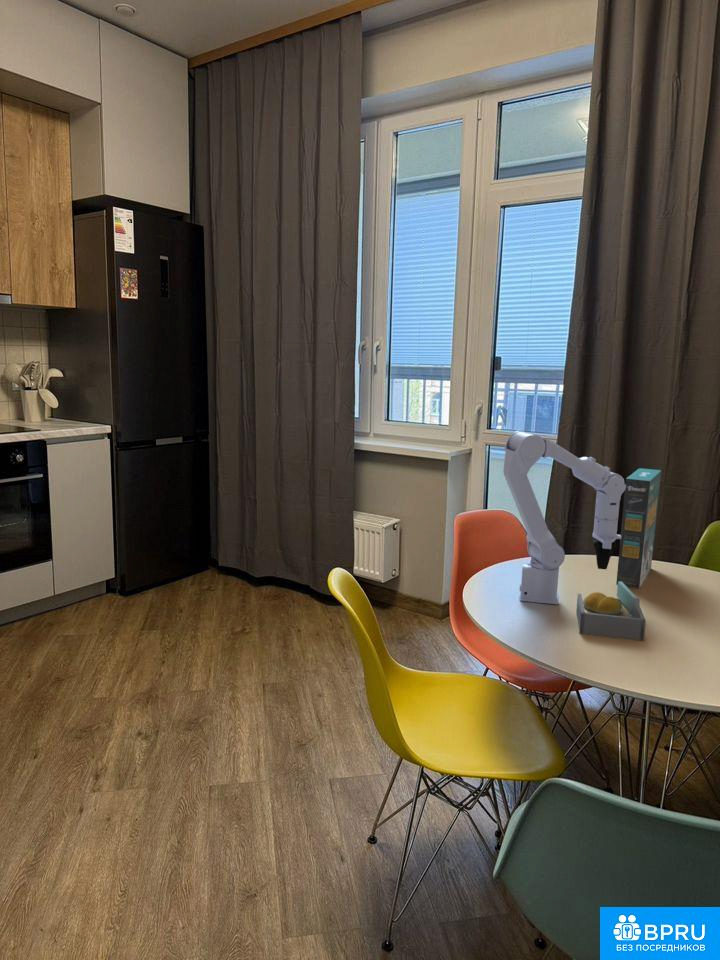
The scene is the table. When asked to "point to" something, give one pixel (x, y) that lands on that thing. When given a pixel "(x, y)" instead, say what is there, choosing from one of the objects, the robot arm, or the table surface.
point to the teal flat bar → (626, 596)
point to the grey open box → (611, 623)
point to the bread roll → (602, 604)
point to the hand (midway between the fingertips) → (601, 568)
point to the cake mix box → (638, 527)
